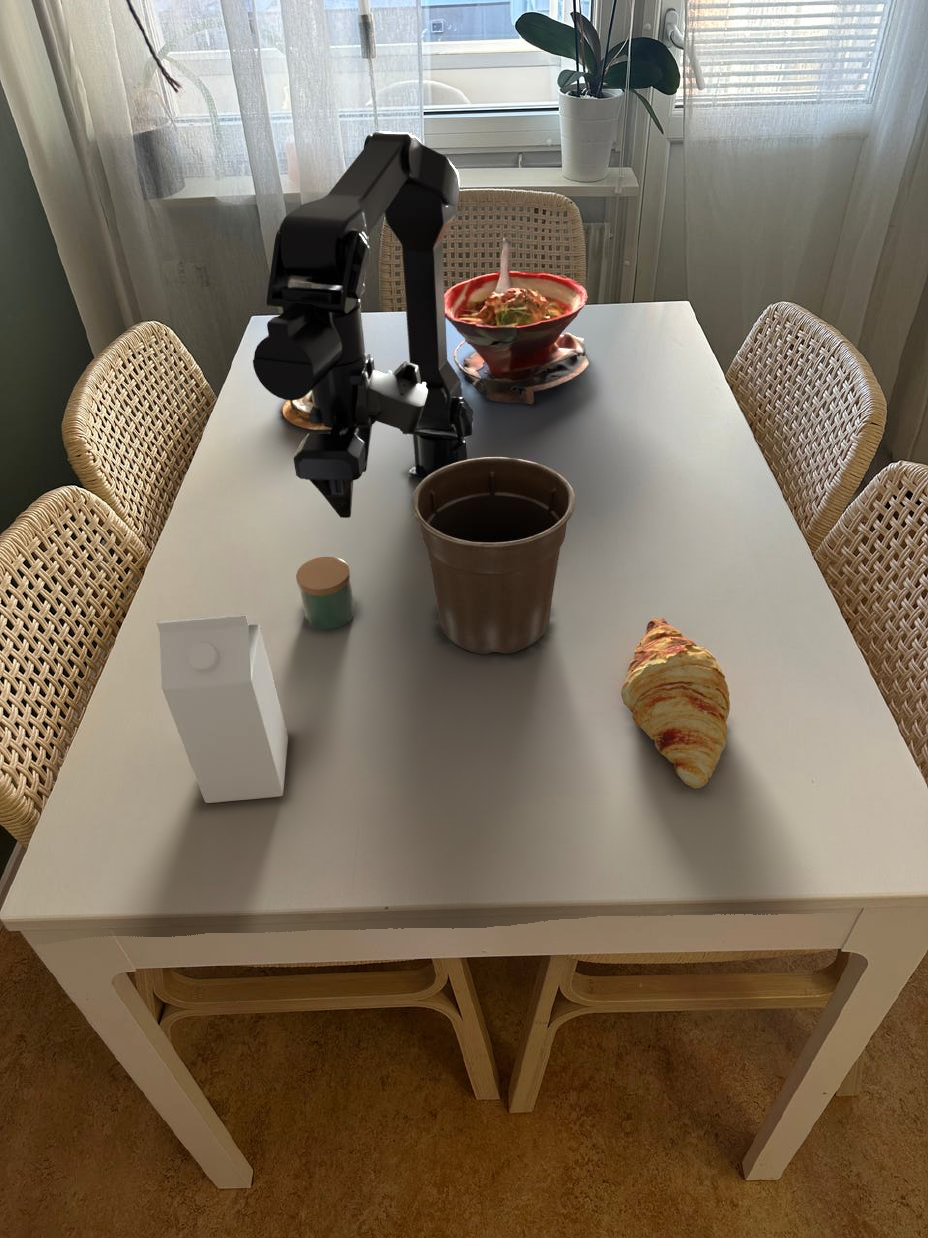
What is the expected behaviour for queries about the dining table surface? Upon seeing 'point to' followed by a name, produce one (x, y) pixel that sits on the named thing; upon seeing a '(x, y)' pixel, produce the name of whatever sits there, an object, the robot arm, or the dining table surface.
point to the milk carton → (225, 706)
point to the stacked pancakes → (301, 413)
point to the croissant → (679, 700)
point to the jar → (326, 592)
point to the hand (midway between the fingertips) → (353, 493)
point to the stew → (518, 330)
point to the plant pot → (493, 548)
